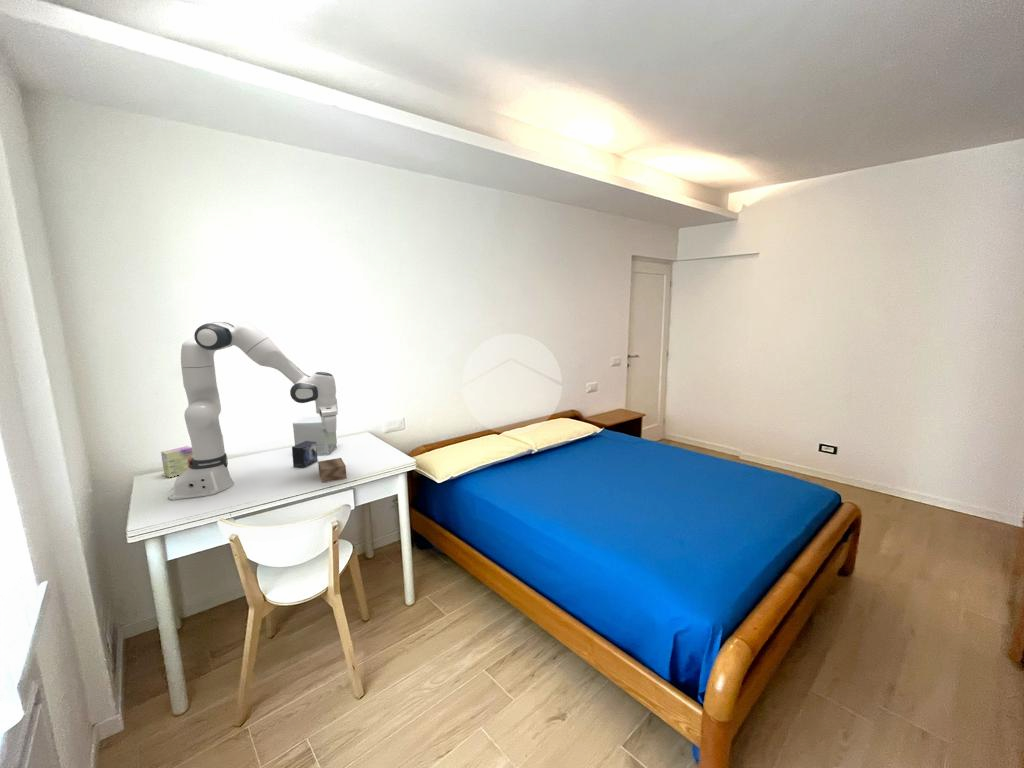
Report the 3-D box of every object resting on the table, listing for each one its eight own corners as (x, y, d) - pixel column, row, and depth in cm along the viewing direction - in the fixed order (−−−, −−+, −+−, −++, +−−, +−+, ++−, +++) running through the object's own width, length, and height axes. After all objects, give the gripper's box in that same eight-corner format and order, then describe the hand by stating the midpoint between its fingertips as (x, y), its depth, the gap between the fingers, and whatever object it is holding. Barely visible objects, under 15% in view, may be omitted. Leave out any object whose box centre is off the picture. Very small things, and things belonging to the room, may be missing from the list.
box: (190, 469, 205) (186, 445, 203) (195, 471, 202) (192, 447, 200) (164, 476, 196) (160, 451, 194) (169, 478, 193) (165, 453, 191)
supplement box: (337, 447, 236) (334, 415, 233) (329, 455, 223) (326, 422, 219) (305, 448, 234) (302, 416, 231) (295, 456, 221) (291, 423, 218)
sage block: (324, 445, 188) (323, 432, 187) (323, 442, 192) (322, 429, 191) (336, 443, 191) (335, 430, 190) (335, 440, 195) (334, 427, 194)
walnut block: (322, 482, 187) (321, 469, 186) (319, 473, 197) (318, 461, 196) (346, 478, 192) (345, 465, 191) (341, 469, 202) (340, 457, 201)
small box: (304, 468, 204) (302, 447, 202) (292, 467, 205) (290, 447, 203) (318, 461, 214) (316, 441, 212) (307, 460, 215) (305, 440, 214)
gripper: (316, 404, 196) (319, 433, 198) (322, 413, 179) (325, 445, 181) (331, 403, 199) (333, 431, 202) (338, 411, 182) (340, 442, 184)
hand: (329, 437), depth 191 cm, fingers closed on sage block, 5 cm apart
